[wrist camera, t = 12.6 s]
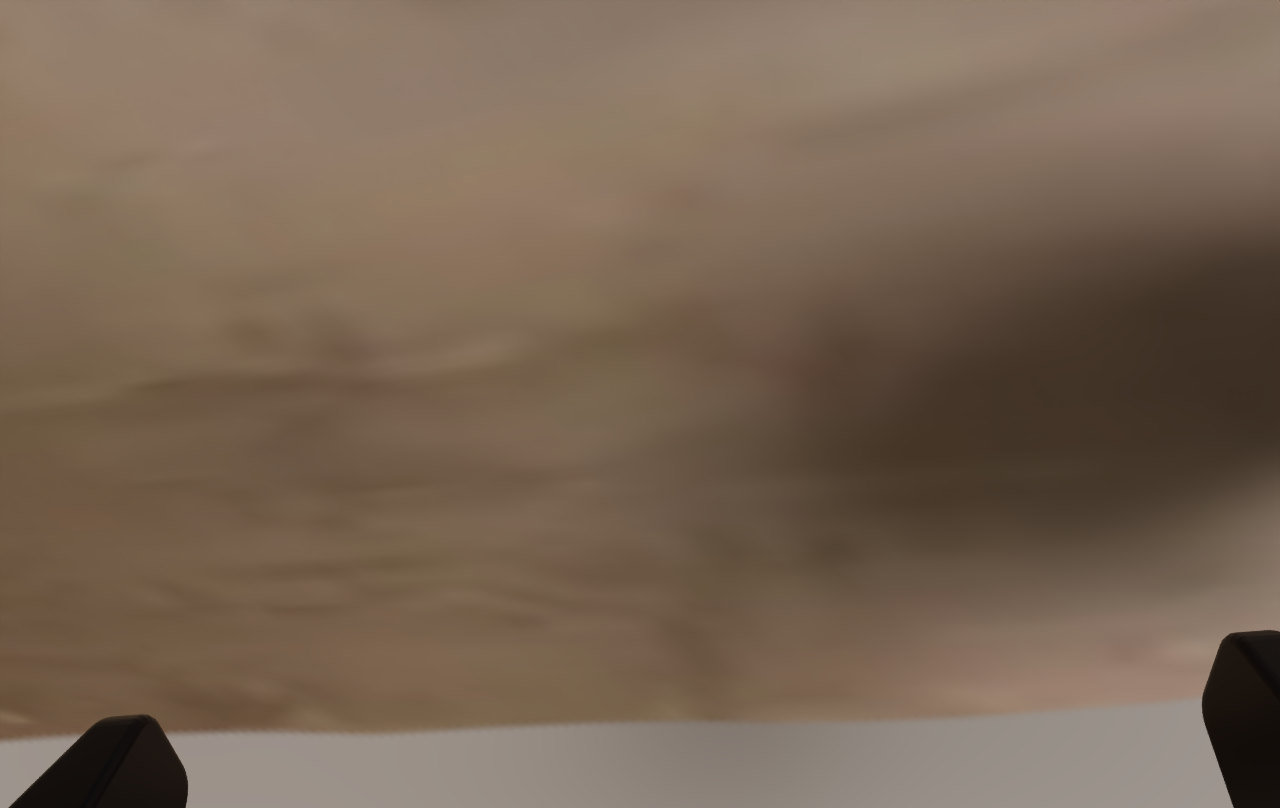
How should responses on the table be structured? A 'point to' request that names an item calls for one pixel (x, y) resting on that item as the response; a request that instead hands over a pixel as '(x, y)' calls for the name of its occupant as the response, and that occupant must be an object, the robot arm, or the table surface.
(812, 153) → the table surface
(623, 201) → the table surface
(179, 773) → the robot arm
